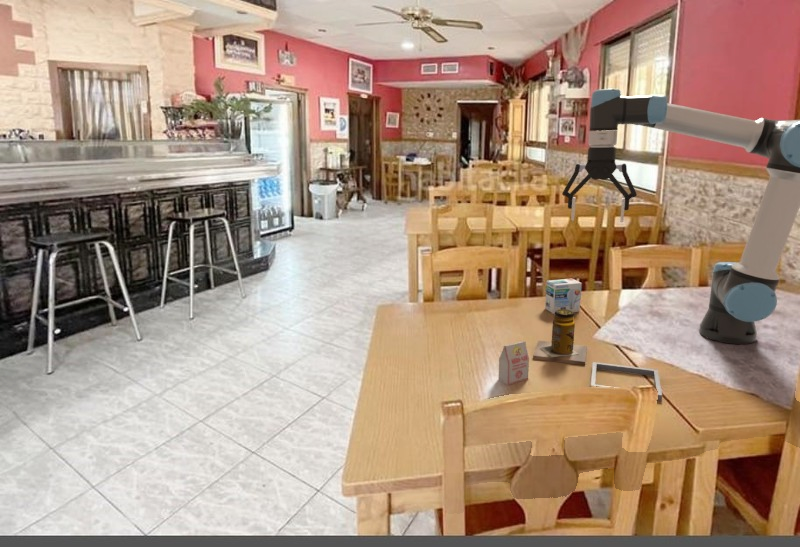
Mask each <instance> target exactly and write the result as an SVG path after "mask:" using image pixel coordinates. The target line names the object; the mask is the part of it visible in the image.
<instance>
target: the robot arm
mask: <svg viewBox="0 0 800 547" xmlns="http://www.w3.org/2000/svg"><path fill="white" fill-rule="evenodd" d="M589 110H590V111H589V112H590V113H589V130H588V145H589V147H588V148H587V156H586V157H587V159H586V164H580V163H576V164H575V167H574V172H573V174H572V175H571V177H570V179H569V181H568V182H567V184H566V186H565V188H564V190H563V191H562V196H565V197H567V198H568V199H567V208H568V209H570V210H571V213H570V214H571V215H570V217H571V219H570V221H575V216H576V215H575V214H576V213H575V212H576V196H575V195H576V194H577V193H578V192H579V191H580V190H581V188H583V187H584V185H586V184H587V183H588V181H590V179H592V180H594V181H595V180H596V181H598V180H602V181H605V180H608V179H609V180H610V181H611V183H613V185H614V186H615V187H616V189H617V190H618V191H619V192H620V194H621V195H622V196H623V197H624V198H623V197H622V198H621V207H620V217H619V218H620V219H619V220H620V223H624V219H625V217H624V215H625V211H628V210H629V207H630V200H631V199H632V198H636V197H637V191H636V189H635V187H634V185H633V182H632V181H631V178H630V176H629V174H628V170H627V164H626V163H622V164H616V154H617V148H616V147H615V146H616V145H617V144H618V143H617V142H618V126H619V125H634V126H642V127H646V128H652V129H658V130H662V131H667V132H670V133H674V134H675V133H676V134H680V135H685V136H689V137H694V138H698V139H702V140H707V141H712V142H716V143H720V144H726V145H730V146H735V147H739V148H743V149H744V150H745V152H747V153H750V154H752V155H753V154H754V155H757V156H760V157H763V158H766V159H768V161H767V165H766V168H765V170H766V172H767V173H768V174H769V178H768V182H767V183H766V184H767V185H766V186H765V190H764V193H763V195H762V198H761V201H760V204H759V206H758V210H757V212H756V215H755V218H754V221H753V225H752V227H751V230H750V232H749V235H748V238H747V241H746V243H745V246H744V249H743V251H742V254H741V257H740V261H737V262H735V261H732V262H731V261H726V262H725V261H721V262H720V261H719V262H716V263H715V264H714V267H713V270H712V280H711V286H710V296H709V304H708V308H707V311H706V313H705V314H704V316H703V318H702V320H701V322H700V324H699V332H698V333H699V334H700V335H701V336H703V337H705V338H708V339H709V340H712V341H716V342H720V343H726V344H734V345H735V344H736V345H747V344H751V343H755V342H756V340H757V334H758V332H757V329H756V323H755V322H759V321H763V320H764V319H766V318H768V317H770V316H771V315H772V314H773V313H774V311H775V310H776V308H777V303H778V298H777V294H776V290H777V287H778V284H779V283H780V279H781V277H780V275H779V274H778V271H777V268H778V266H779V263H780V260H781V258H782V255H783V253H784V249H785V247H786V244H787V243H788V239H789V236H790V234H791V231H792V228H793V225H794V223H795V220H796V218H797V215H798V213H799V209H800V119H786V120H783V119H782V120H776V119H768V118H763V117H760V118H759V119H757V120H753V119H749V118H744V117H743V118H742V117H739V116H735V115H734V116H733V115H729V114H723V113H719V112H712V111H707V110H704V109H699V108H693V107H688V106H683V105H680V104H679V105H678V104H673V103H669V102H668V97H667V95H664V94H648V95H647V94H646V95H633V96H632V95H631V96H630V95H629V96H626V95H622V93H621V90H620V89H619V88H605V89H604V88H603V89H602V88H601V89H597V90H594V91H593V92H592V93H591V100H590V108H589ZM584 169H585V172H586V173H587V175H586V176H585V177H584V178H583V179H582V180H581V181H580V182H579V183H578V185H576V186H575V187H574V189H573V190H572V191H570V192H569V190H570V189H571V187H572V186H573V184H574V182H575V181H576V179H577V177H578V175H579V174H580V172H581V173H582V171H583V170H584ZM616 170H618V171H619V173H622V176H623V178H624V181H625V183H626V185H627V187H628V189H629V190H628V191H630V193H629V192H627V191H626V189H625V188H624V187H623V185H622V184H621V182H619V181H618V179H617V178H616V177H615V175H613V174H614V172H615V171H616ZM574 196H575V197H574Z"/></svg>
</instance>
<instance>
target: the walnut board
mask: <svg viewBox="0 0 800 547" xmlns="http://www.w3.org/2000/svg"><path fill="white" fill-rule="evenodd" d="M551 345H552V341H544V340H538V342H537V344H536V346H535V350H534V352H533V355H532V359H533V360H540V361H541V360H542V361H547V362H555V363H557V362H558V363H565V364H571V365H572V364H573V365H578V366H579V365H580V366H586V360H587V353H588V352H587V351H588V346H587V345H582V344H581V345H580V344H573V350H574V351H575V352H577V353H578V354H577V355H569V356H558V357H551V356H549V355H548V354H546V353H545V352H544V351H543V350H542V349H541V348H540V347H547V346H551Z"/></svg>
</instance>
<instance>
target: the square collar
mask: <svg viewBox="0 0 800 547" xmlns="http://www.w3.org/2000/svg"><path fill="white" fill-rule="evenodd" d="M591 368H592V370H591V379H590V387H591V386H596V387H612V386H609V385H603V384H596V377H597V370H601V371H602V370H603V371H610V372H618V373H624V374H634V375H641V376H649V377H653V383H654V384H653V385H654V388H655V387H656V389H657V391H658V402H662V401H663V392H662V387H661V386H662V385H661V381H660V374H659V369H652V368H647V367H646V368H645V367H638V366H629V365H622V364H620V365H619V364H613V363H605V362H597V361H596V362H595V361H593V362H592V367H591ZM613 387H614V388H619V387H617V386H613Z"/></svg>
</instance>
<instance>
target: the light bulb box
mask: <svg viewBox="0 0 800 547" xmlns="http://www.w3.org/2000/svg"><path fill="white" fill-rule="evenodd" d="M582 284H583V283H582V282H580V281H578V280H576V279H574V278H563V279H552V280H550V279H549V280H546V286H545V287H546V288H545V305H544V309H545V310H547V311H548V312H550V313H552V315H555V311H556V310H559V309H565V310H570V311H572V312H573V313H579V312H580V311H581V297H582Z"/></svg>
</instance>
